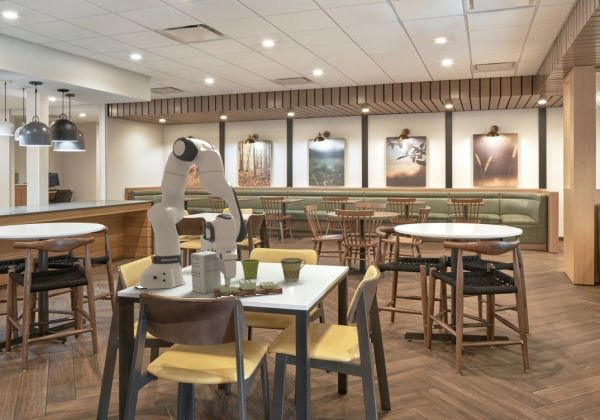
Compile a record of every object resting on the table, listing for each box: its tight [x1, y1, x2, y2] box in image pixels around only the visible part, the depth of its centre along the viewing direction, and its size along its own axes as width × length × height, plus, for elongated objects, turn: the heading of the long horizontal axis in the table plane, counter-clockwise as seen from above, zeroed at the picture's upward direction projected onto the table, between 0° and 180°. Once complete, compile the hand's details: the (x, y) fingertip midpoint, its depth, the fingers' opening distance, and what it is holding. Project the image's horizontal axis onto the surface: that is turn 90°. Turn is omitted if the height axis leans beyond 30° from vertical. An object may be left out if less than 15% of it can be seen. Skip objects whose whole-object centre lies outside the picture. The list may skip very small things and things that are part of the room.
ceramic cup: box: [280, 257, 306, 282], centre depth 241 cm, size 13×10×10 cm
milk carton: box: [199, 231, 216, 252], centre depth 281 cm, size 9×9×20 cm
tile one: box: [219, 283, 236, 293], centre depth 211 cm, size 6×6×3 cm
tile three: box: [259, 280, 278, 289], centre depth 217 cm, size 6×6×3 cm
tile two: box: [238, 278, 257, 290], centre depth 214 cm, size 6×6×3 cm
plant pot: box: [240, 258, 261, 280], centre depth 247 cm, size 9×9×9 cm
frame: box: [212, 284, 283, 298], centre depth 214 cm, size 28×10×2 cm, turn 107°
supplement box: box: [190, 251, 222, 294], centre depth 221 cm, size 10×9×17 cm
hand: (227, 285), depth 211 cm, fingers closed
